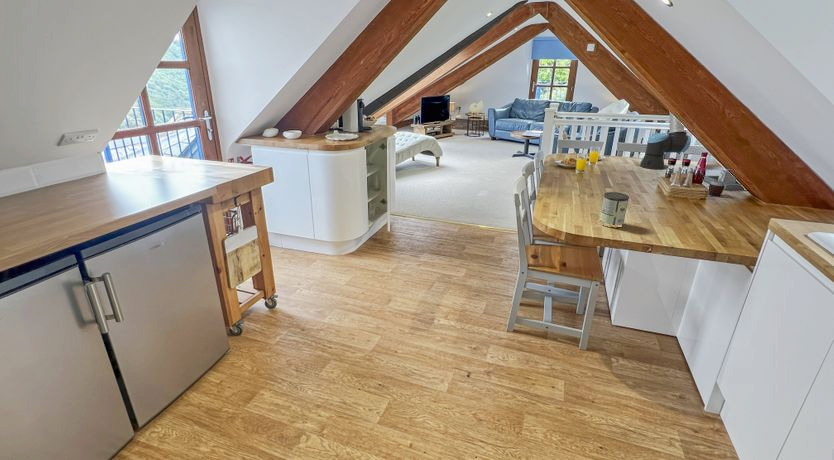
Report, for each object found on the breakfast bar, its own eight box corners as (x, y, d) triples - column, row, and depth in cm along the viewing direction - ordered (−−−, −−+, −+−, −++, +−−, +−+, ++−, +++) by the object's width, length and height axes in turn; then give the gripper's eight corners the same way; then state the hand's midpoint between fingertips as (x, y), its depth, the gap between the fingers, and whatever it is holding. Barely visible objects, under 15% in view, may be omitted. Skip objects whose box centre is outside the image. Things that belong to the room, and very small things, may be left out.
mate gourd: (710, 192, 237) (717, 167, 231) (725, 196, 231) (733, 170, 225) (703, 194, 233) (711, 169, 228) (719, 198, 227) (727, 172, 221)
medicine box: (729, 183, 253) (734, 169, 249) (734, 185, 248) (739, 171, 245) (716, 183, 253) (720, 169, 249) (721, 185, 249) (725, 171, 245)
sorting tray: (702, 181, 260) (703, 175, 259) (725, 181, 260) (727, 175, 259) (724, 190, 242) (726, 184, 240) (749, 190, 242) (751, 184, 241)
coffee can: (604, 218, 198) (609, 190, 192) (626, 224, 191) (632, 195, 185) (595, 224, 191) (600, 195, 185) (617, 230, 184) (623, 200, 179)
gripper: (700, 92, 256) (691, 127, 264) (729, 95, 233) (718, 133, 241) (712, 92, 256) (703, 127, 265) (742, 95, 233) (731, 133, 241)
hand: (710, 130), depth 253 cm, fingers open, 13 cm apart
